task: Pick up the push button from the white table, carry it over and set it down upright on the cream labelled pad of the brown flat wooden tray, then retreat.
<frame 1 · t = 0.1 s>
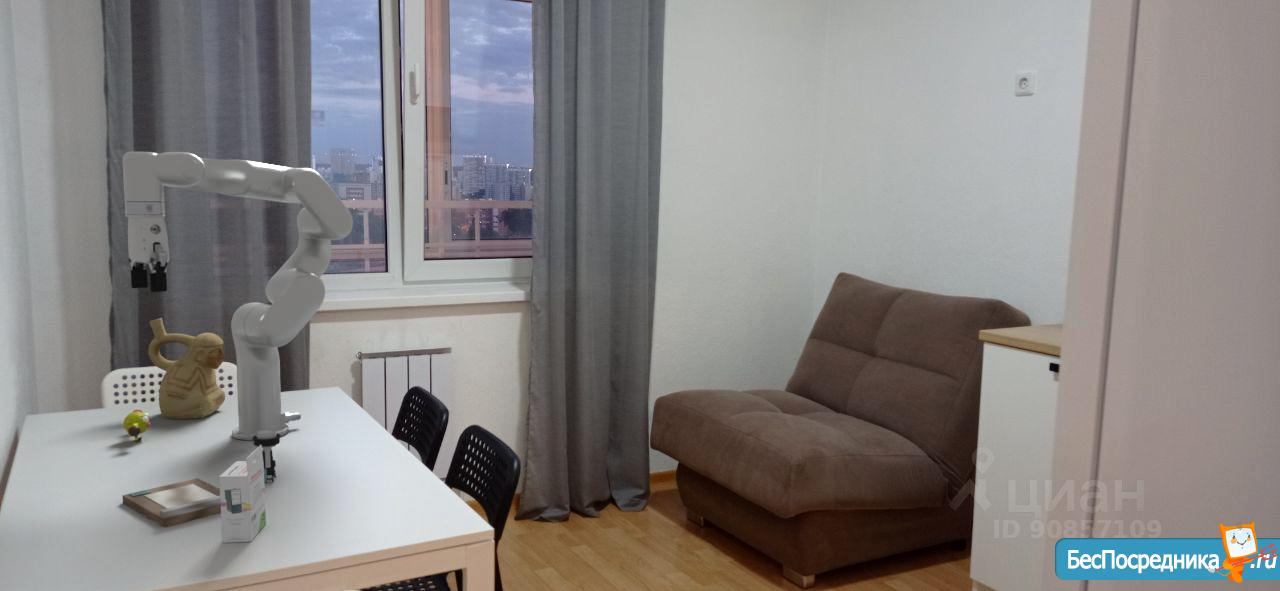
hand: (149, 289, 200), 37 cm above the table, tool pointing down, fingers open, 9 cm apart
brown flat wooden tray: (182, 504, 173), on the table
toy figure: (138, 441, 215), on the table
ceramic vessel: (190, 414, 240), on the table
ink box: (244, 534, 160), on the table
push button: (268, 481, 188), on the table
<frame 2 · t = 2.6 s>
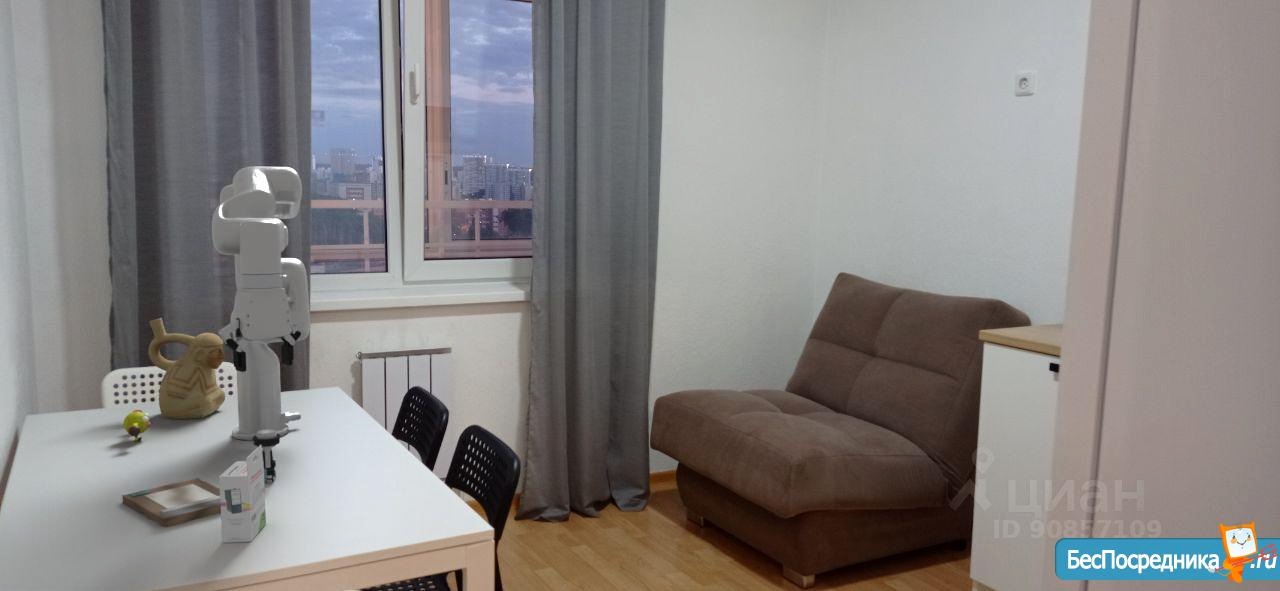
hand: (264, 367, 185), 23 cm above the table, tool pointing down, fingers open, 9 cm apart
nothing on the table moved.
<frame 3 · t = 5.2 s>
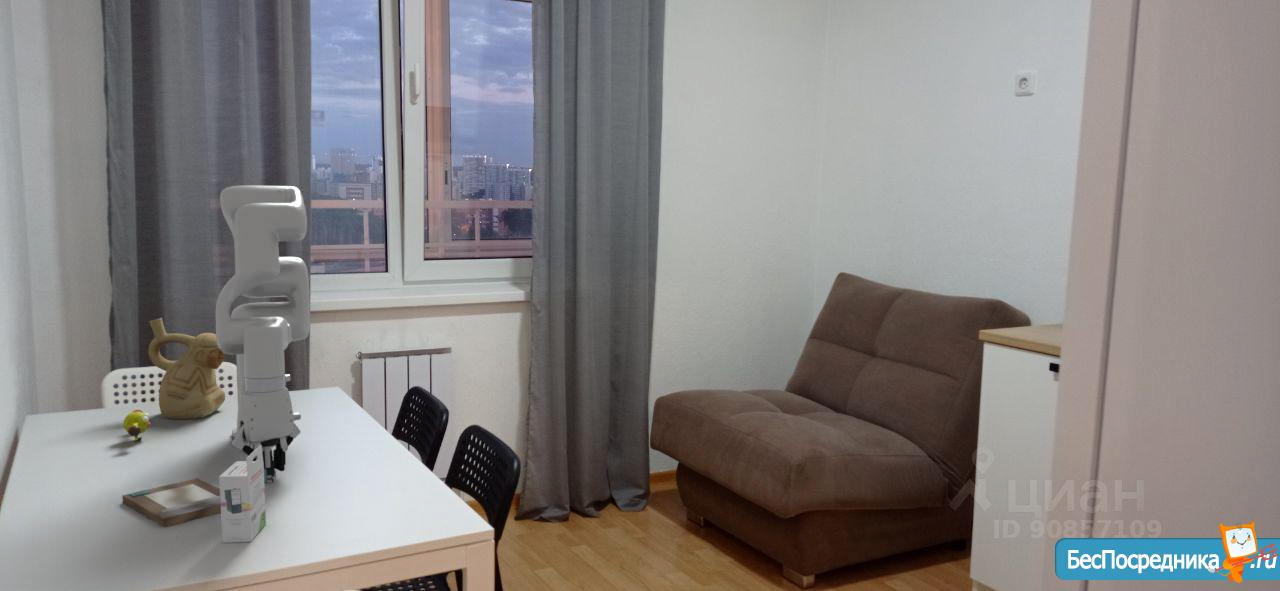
hand: (268, 471, 188), 2 cm above the table, tool pointing down, fingers open, 4 cm apart
push button: (268, 481, 188), on the table, touching gripper
everything else where it was.
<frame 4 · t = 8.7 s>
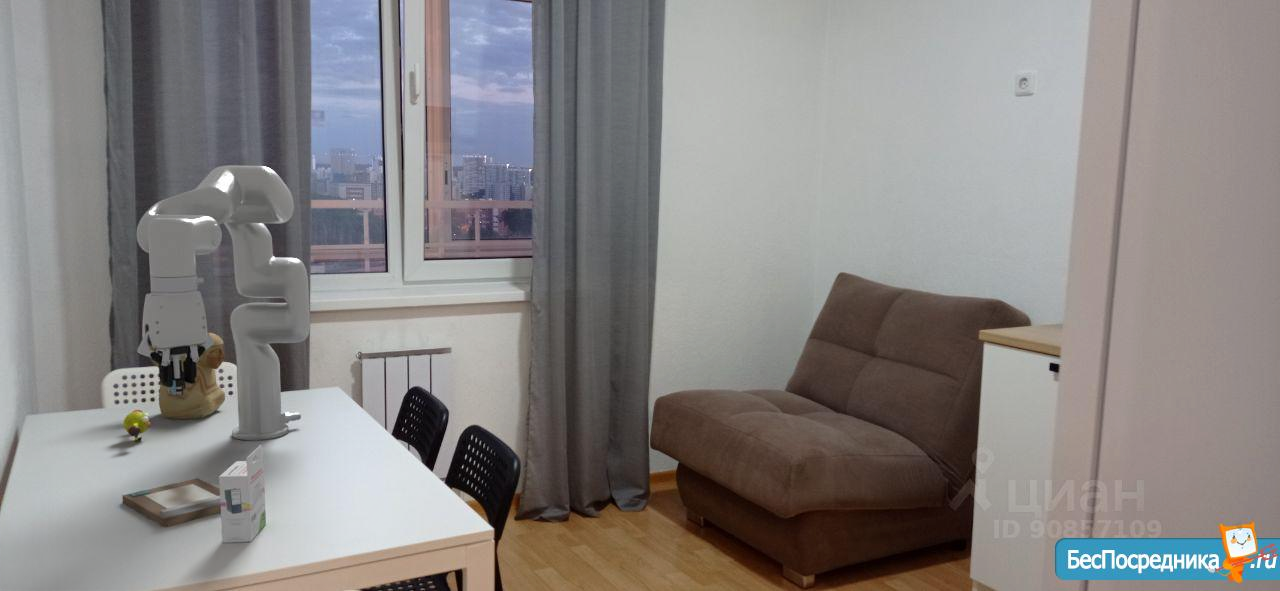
hand: (178, 383, 171), 23 cm above the table, tool pointing down, fingers closed on push button, 3 cm apart
push button: (177, 394, 171), point 21 cm above the table, touching gripper
everything else where it was.
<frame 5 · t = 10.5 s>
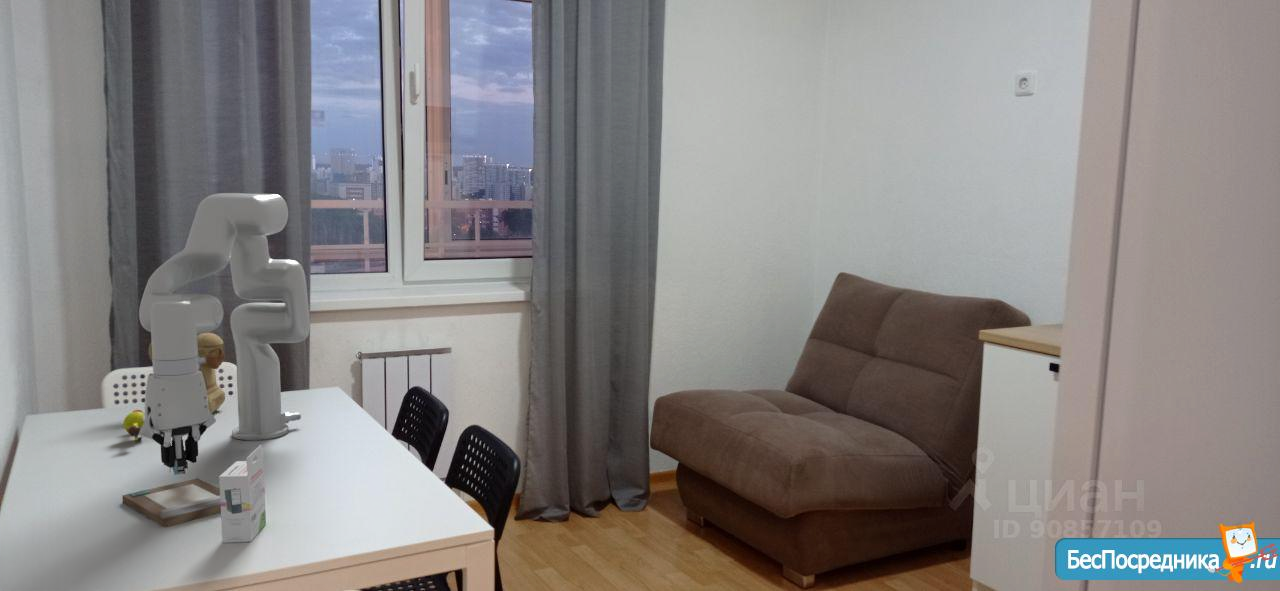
hand: (180, 462, 172), 8 cm above the table, tool pointing down, fingers closed on push button, 3 cm apart
push button: (179, 473, 172), point 6 cm above the table, touching gripper
everything else where it was.
when the fingers open (4 cm above the table, at t = 11.9 s): push button stays where it is, resting on brown flat wooden tray.
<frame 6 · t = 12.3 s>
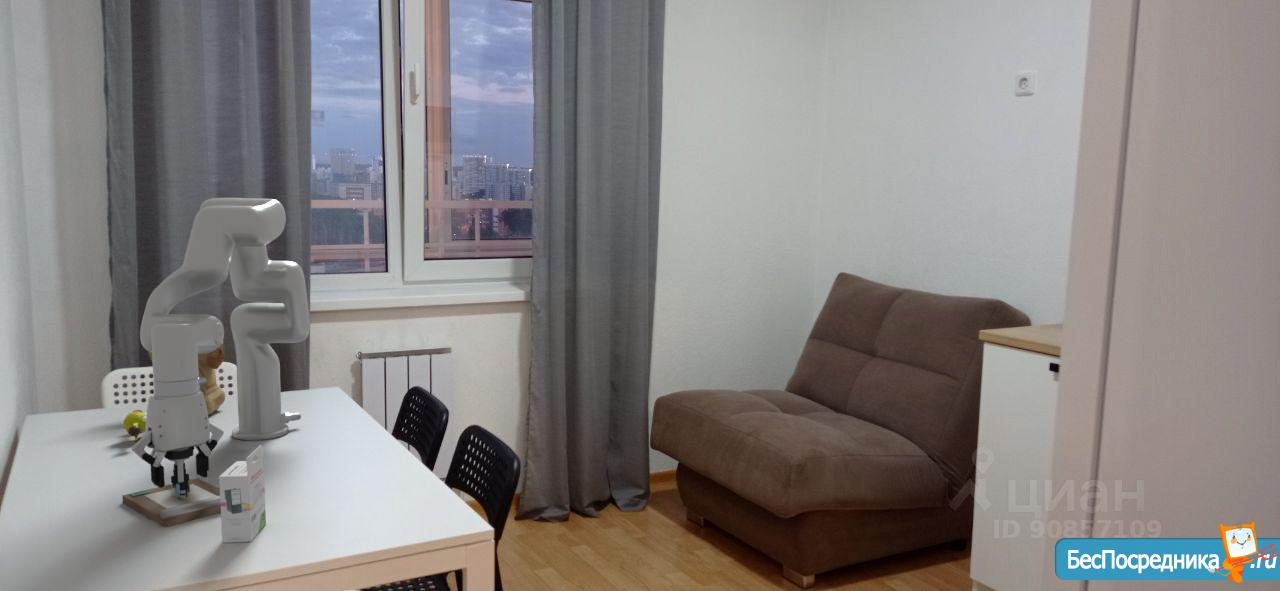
hand: (181, 480, 173), 5 cm above the table, tool pointing down, fingers open, 7 cm apart
push button: (181, 496, 173), point 2 cm above the table, touching brown flat wooden tray
everything else where it was.
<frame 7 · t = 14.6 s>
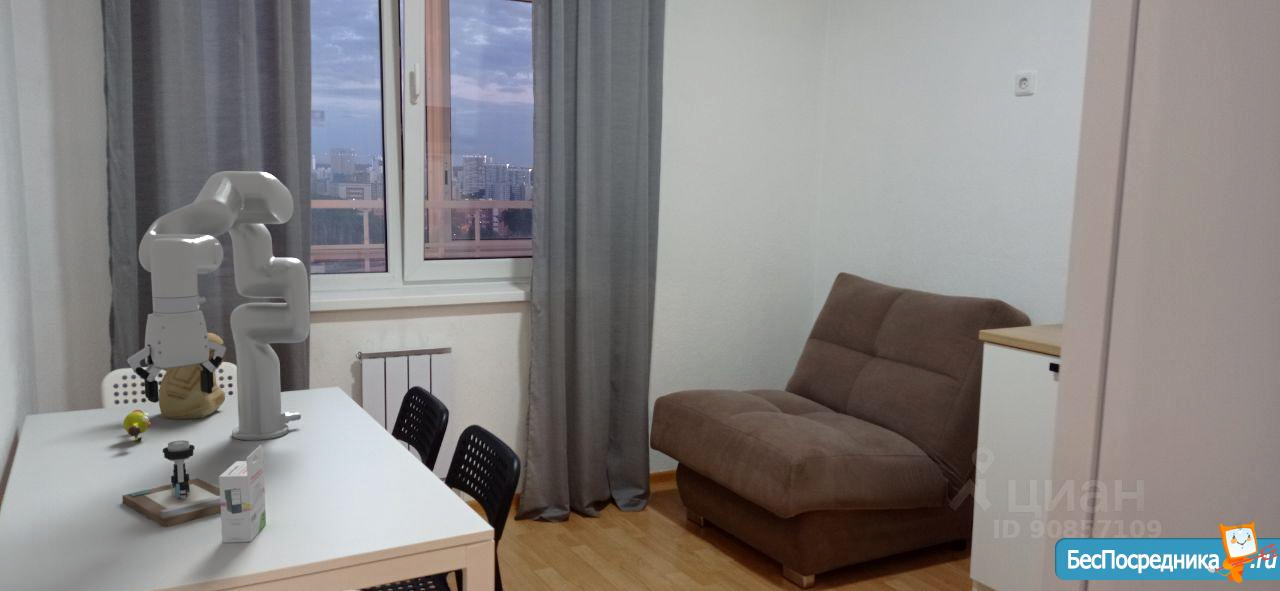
hand: (180, 396, 172), 21 cm above the table, tool pointing down, fingers open, 9 cm apart
nothing on the table moved.
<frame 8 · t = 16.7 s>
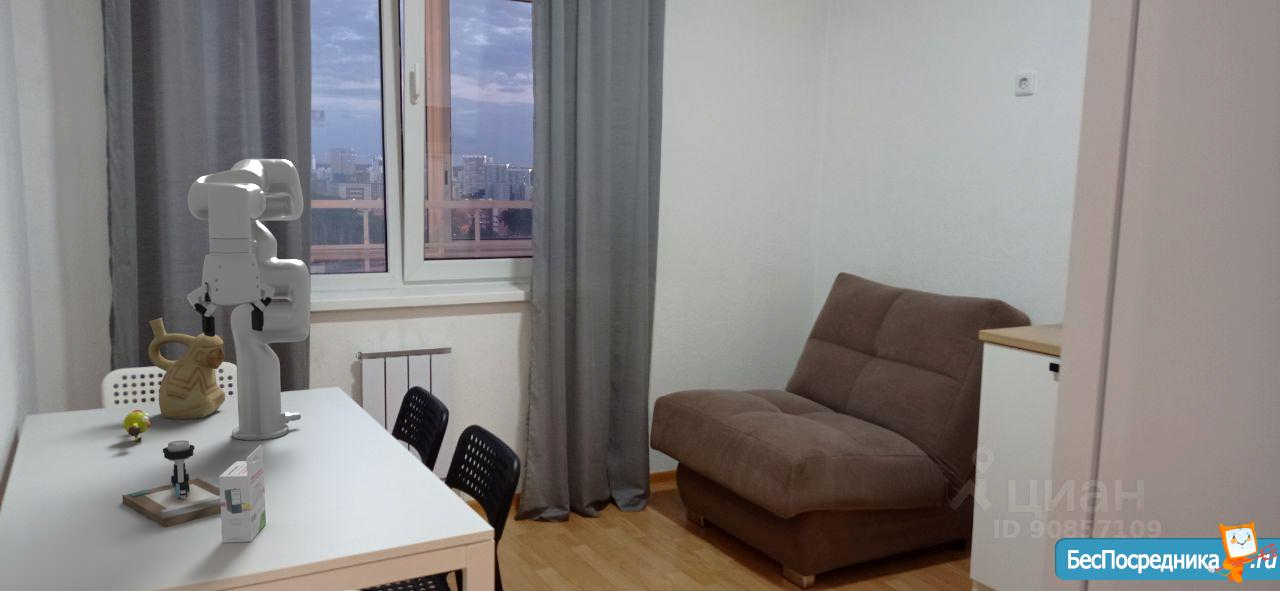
hand: (233, 333, 184), 30 cm above the table, tool pointing down, fingers open, 9 cm apart
nothing on the table moved.
at the end: push button inside the target area on the brown flat wooden tray (0.2 cm from its centre), point 1.5 cm above the brown flat wooden tray's base; push button tilted 0°; the gripper is holding nothing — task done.
